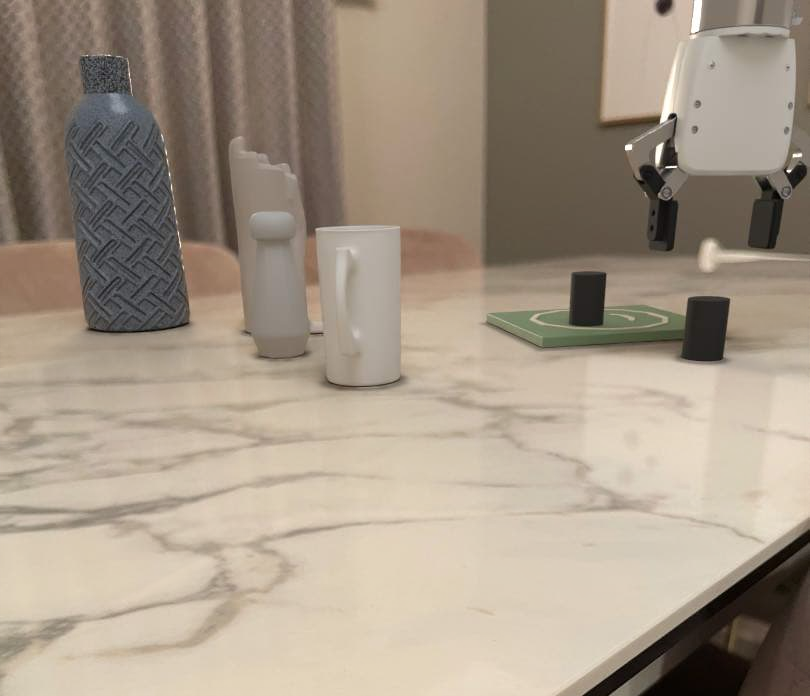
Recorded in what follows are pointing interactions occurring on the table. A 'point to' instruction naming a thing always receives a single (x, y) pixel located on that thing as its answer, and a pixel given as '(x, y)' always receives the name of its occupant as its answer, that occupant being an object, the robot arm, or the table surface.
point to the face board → (616, 326)
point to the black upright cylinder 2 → (705, 328)
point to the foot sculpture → (264, 192)
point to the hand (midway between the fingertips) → (711, 249)
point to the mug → (360, 303)
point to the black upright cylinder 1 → (587, 298)
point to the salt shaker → (277, 289)
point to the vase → (122, 206)
